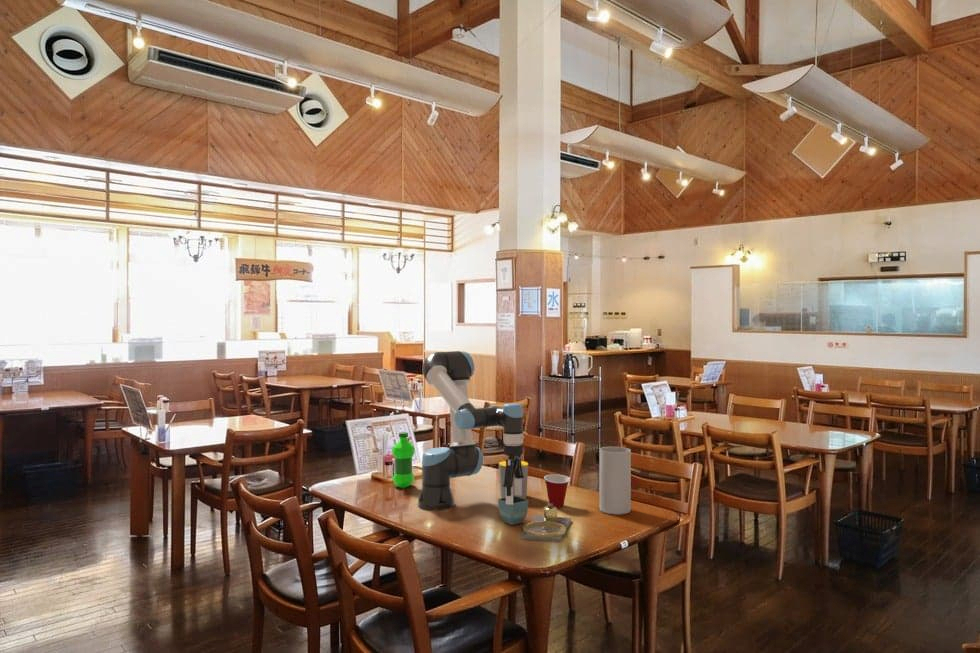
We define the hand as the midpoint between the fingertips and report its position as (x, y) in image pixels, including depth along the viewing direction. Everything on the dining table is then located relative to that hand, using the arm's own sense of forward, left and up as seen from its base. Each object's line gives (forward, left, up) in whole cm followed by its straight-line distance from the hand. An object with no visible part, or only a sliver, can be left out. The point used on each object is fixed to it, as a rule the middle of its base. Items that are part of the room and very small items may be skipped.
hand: (513, 499), depth 246 cm
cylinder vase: (+36, +27, -9) cm, 46 cm away
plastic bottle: (-63, +39, -9) cm, 75 cm away
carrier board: (+14, -4, -9) cm, 17 cm away
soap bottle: (-9, +36, -9) cm, 39 cm away
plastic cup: (+12, +27, -9) cm, 31 cm away
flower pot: (0, 0, -9) cm, 9 cm away
